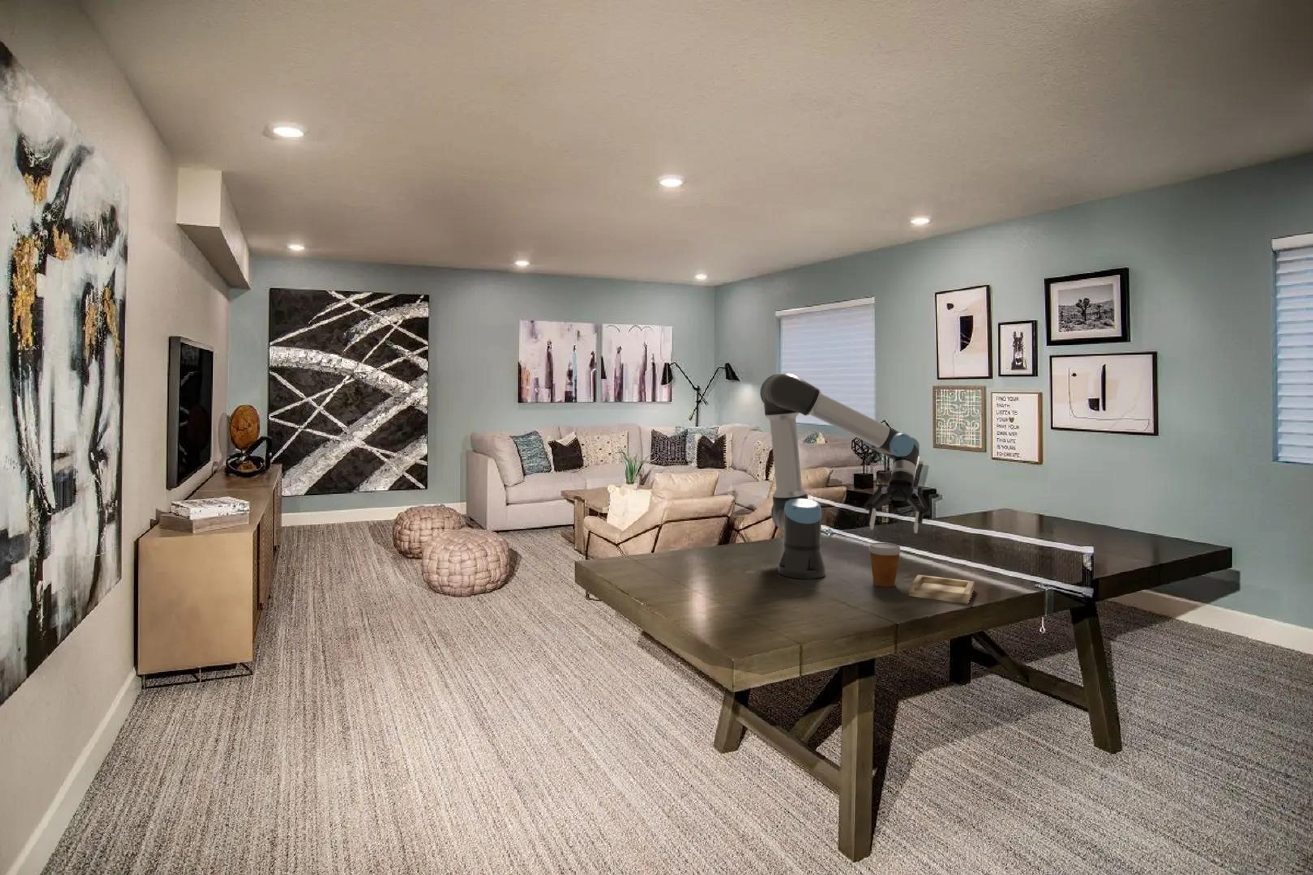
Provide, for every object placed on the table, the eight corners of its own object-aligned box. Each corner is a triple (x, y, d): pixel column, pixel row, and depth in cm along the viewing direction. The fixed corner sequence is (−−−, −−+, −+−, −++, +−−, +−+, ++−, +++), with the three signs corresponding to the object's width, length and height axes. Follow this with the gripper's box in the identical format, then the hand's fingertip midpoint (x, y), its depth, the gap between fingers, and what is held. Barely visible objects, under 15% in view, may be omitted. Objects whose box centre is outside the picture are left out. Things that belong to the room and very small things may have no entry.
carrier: (908, 595, 215) (908, 586, 214) (917, 583, 229) (918, 574, 228) (968, 603, 207) (968, 594, 207) (974, 590, 221) (974, 581, 221)
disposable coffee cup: (888, 589, 221) (889, 550, 220) (861, 583, 228) (862, 544, 227) (906, 584, 227) (907, 545, 226) (879, 578, 234) (880, 540, 233)
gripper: (943, 486, 245) (935, 539, 233) (866, 481, 257) (855, 532, 244) (941, 471, 240) (933, 525, 228) (863, 467, 252) (851, 518, 239)
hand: (892, 528), depth 236 cm, fingers open, 13 cm apart
